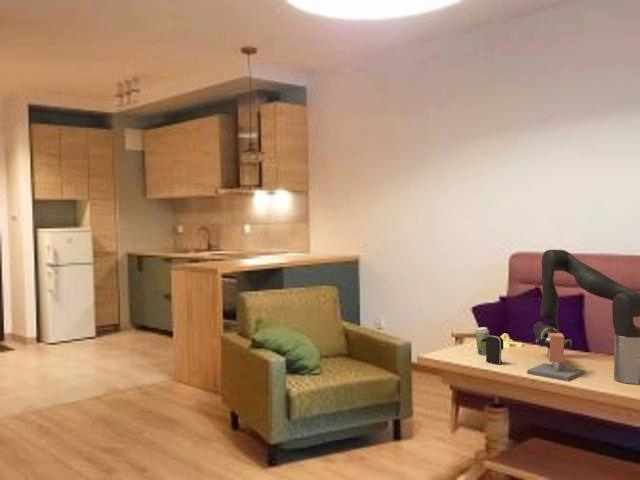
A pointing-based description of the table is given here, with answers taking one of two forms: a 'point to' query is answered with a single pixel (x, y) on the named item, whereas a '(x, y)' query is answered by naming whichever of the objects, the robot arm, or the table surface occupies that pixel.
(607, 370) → the table surface
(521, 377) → the table surface
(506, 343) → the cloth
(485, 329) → the beverage can
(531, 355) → the table surface
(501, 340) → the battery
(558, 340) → the salmon orange block
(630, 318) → the robot arm
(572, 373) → the base plate
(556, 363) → the keyed shaft
